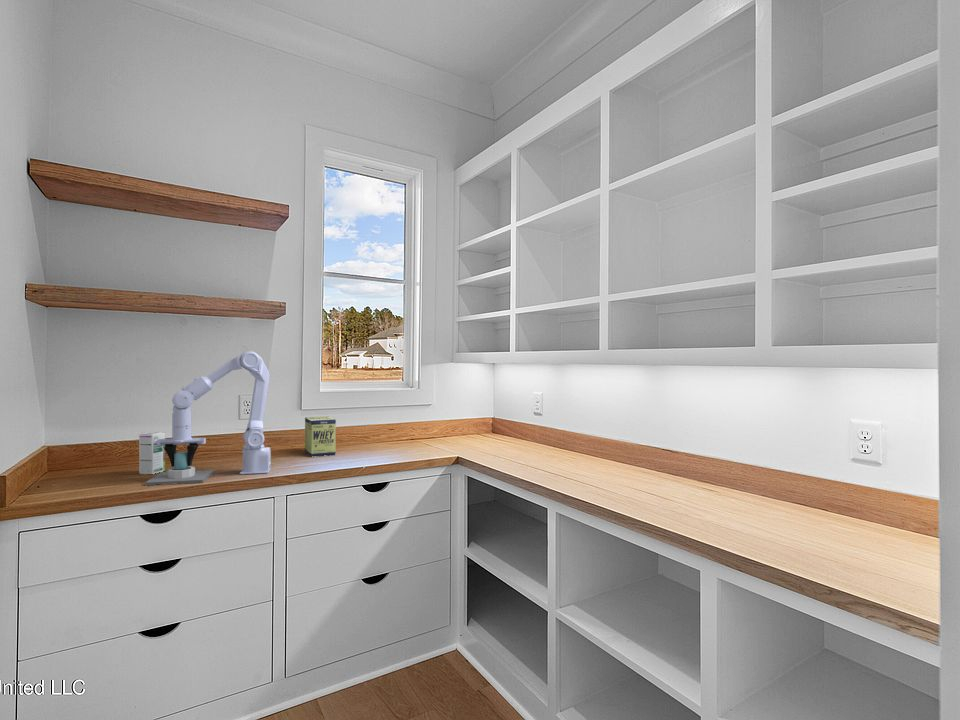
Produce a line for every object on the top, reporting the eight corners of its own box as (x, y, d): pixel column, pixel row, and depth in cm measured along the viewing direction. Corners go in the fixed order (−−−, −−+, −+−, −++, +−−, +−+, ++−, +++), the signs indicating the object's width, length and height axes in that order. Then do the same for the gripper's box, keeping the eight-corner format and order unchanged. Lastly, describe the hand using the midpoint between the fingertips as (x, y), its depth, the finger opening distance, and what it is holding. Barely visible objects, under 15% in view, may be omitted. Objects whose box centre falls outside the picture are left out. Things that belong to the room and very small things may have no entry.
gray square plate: (214, 472, 187) (214, 463, 187) (202, 482, 171) (202, 472, 171) (161, 475, 182) (161, 465, 182) (144, 485, 167) (144, 474, 167)
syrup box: (152, 474, 182) (152, 434, 182) (138, 474, 184) (138, 433, 184) (165, 471, 188) (165, 432, 188) (151, 470, 189) (152, 431, 189)
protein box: (311, 457, 217) (311, 420, 217) (304, 451, 231) (304, 417, 231) (336, 455, 222) (336, 419, 222) (327, 449, 236) (328, 416, 236)
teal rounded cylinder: (190, 471, 179) (190, 451, 179) (186, 473, 175) (187, 453, 175) (175, 471, 178) (176, 451, 178) (172, 474, 174) (172, 453, 174)
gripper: (153, 428, 171) (153, 469, 171) (202, 427, 175) (201, 467, 175) (161, 425, 178) (160, 464, 178) (207, 424, 181) (207, 463, 181)
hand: (181, 465), depth 177 cm, fingers closed on teal rounded cylinder, 4 cm apart
